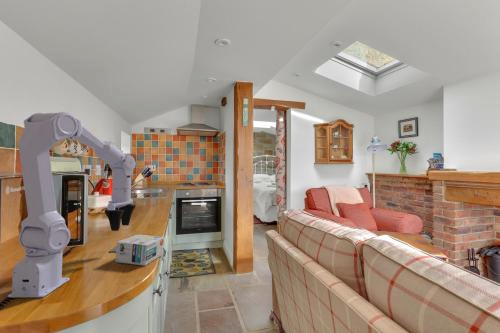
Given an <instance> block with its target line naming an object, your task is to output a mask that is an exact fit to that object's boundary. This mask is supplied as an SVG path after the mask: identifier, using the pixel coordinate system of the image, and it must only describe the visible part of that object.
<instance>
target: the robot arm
mask: <svg viewBox="0 0 500 333" xmlns="http://www.w3.org/2000/svg"><path fill="white" fill-rule="evenodd" d="M23 125H24V126H23V127H24V128H23V129H22V133H21V134H20V137H19V139H18V142H17V145H18V146H17V147H18V153H19V154H18V155H19V160H20V167H21V175H22V181H23V187H24V188H23V189H24V195H25V201H26V202H25V203H26V209H27V217H26V218H24V219H23V220H22V221H21V223H20V225H21V230H20V233H19V235H18V242H19V244H20V245H21V247H22V248H24V253H25V256H24V257H23V258H22V259H21V260H19V262H17V263H16V264H15V265H14V267H13V269H12V280H11V282H12V284H11V293H10V294H8V295H7V298H44V297H46V296H48V295H49V294H51V293H52V292H53V291H55V290H57V289H58V288H59V287H61V286H63V285H64V284H65V283H67V282H68V281H70V278H71V277H63V255H64V254H63V252H64V251H65V248H66V247H67V245H68V244H69V243H70V240H71V230H70V229H69V228H68V226H67V225H66V220H65V218H64V217H63V216H62V215H61V214H60V212H58V209H57V202H56V201H57V200H56V195H55V194H56V193H55V186H54V178H53V170H52V163H51V156H50V150H52V149H53V148H54V147H55V146H56V145H57V144H58V143H60V142H62V141H65V140H67V139H69V138H72V139H74V140H75V141H78V142H79V143H81V144H83V145H84V146H86V147H88V148H90V149H92V150H93V151H94V155H95V156H96V157H97V158H99V159H100V160H101V161H104V162H105V163H107V164H108V166H109V169H111V170H112V188H111V190H112V191H111V192H112V194H111V200H109V201H108V203H107V208H105V209H104V214H105V215H106V217H107V220H108V221H109V226H110V230H111V231H112V232H118V231H119V230H120V227H121V225H122V226H129V225H130V222H131V218H132V215H133V212H134V211H135V209H136V204H134V200H133V198H131V195H132V194H131V193H132V192H131V189H132V176H133V174H134V169H135V167H136V165H137V162H136V161H135V158H134V157H133V156H132V155H131V154H125V152H124V151H123V150H122V149H120V148H118V147H117V146H115V144H114V142H112V141H107V140H106V141H102V139H100V138H98V136H96V135H95V134H94V133H92V132H91V131H90V130H89V129H88V128H86V126H84V125H83V124H82V121H81V120H80V119H79V118H76V117H75V116H74V115H73V114H72V113H70V112H66V111H60V112H59V111H58V112H45V113H43V112H37V113H34V114H31V115H30V116H29V117H27V118H25V119H24V120H23Z"/></svg>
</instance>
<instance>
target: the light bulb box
mask: <svg viewBox="0 0 500 333" xmlns="http://www.w3.org/2000/svg"><path fill="white" fill-rule="evenodd" d="M164 240H165V236H155V235H146V234H145V235H144V234H138V233H137V234H135V235H132V236H130V237H127V238H124V239H121V240H118V241H117V242H116V246H117V249H116V252H115V262H116V263H120V264H129V265H136V266H144V267H146V266H147V265H149V264H151V263H152V262H154V261H155V260H156V259H158V258H160V257H162V256H163V255H164V244H165V243H164V242H165V241H164Z"/></svg>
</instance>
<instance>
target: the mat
mask: <svg viewBox="0 0 500 333" xmlns="http://www.w3.org/2000/svg"><path fill="white" fill-rule="evenodd" d="M116 249H117V245H116V246H115V247H113V248H112V249H110V250H108V253H116Z"/></svg>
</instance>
